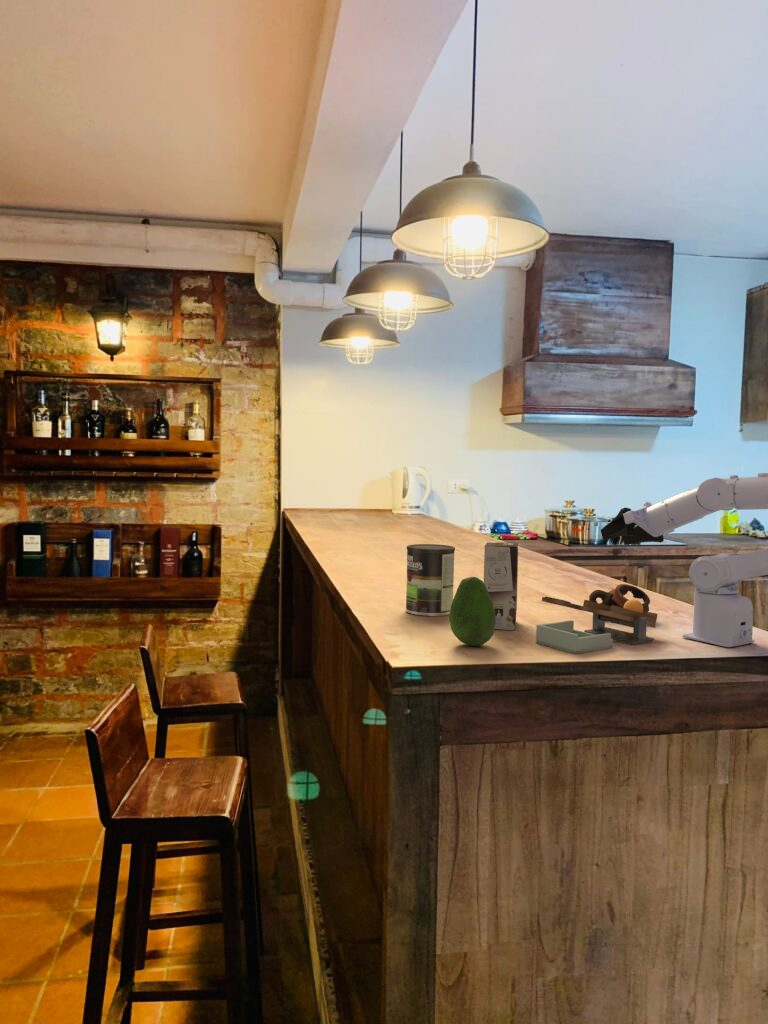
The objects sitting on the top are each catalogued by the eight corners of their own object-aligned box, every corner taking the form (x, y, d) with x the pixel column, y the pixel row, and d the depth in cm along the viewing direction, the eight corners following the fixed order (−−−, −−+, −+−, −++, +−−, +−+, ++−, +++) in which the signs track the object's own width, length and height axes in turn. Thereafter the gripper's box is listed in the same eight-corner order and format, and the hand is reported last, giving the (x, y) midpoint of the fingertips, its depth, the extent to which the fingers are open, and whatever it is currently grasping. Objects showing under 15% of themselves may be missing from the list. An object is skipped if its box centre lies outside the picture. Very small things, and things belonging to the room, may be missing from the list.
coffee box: (515, 631, 142) (517, 546, 141) (481, 629, 143) (483, 545, 143) (517, 621, 151) (518, 541, 150) (484, 619, 152) (486, 540, 151)
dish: (612, 647, 129) (613, 629, 129) (575, 654, 124) (575, 634, 124) (573, 637, 137) (573, 620, 137) (536, 642, 132) (536, 624, 132)
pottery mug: (632, 616, 161) (648, 586, 157) (641, 644, 153) (659, 613, 149) (579, 601, 161) (594, 571, 157) (585, 629, 153) (601, 597, 149)
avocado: (465, 638, 135) (466, 572, 134) (503, 645, 130) (504, 576, 129) (439, 646, 129) (440, 576, 128) (478, 653, 124) (480, 581, 123)
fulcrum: (654, 641, 135) (654, 617, 134) (631, 645, 131) (632, 620, 131) (606, 630, 144) (606, 607, 144) (584, 633, 141) (584, 610, 140)
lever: (655, 632, 137) (659, 614, 138) (598, 618, 129) (602, 598, 129) (596, 619, 149) (599, 602, 149) (540, 605, 141) (544, 587, 141)
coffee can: (419, 618, 153) (420, 549, 153) (397, 609, 163) (398, 544, 162) (462, 614, 158) (464, 548, 157) (438, 606, 167) (440, 543, 166)
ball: (645, 620, 139) (648, 601, 139) (633, 618, 137) (636, 599, 137) (630, 617, 142) (633, 598, 142) (618, 615, 140) (621, 597, 140)
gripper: (688, 499, 148) (629, 524, 157) (647, 486, 139) (587, 513, 148) (698, 533, 145) (637, 555, 154) (657, 521, 136) (595, 546, 145)
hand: (613, 537), depth 151 cm, fingers open, 7 cm apart
